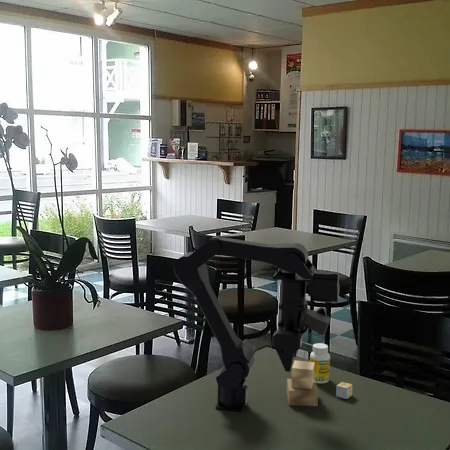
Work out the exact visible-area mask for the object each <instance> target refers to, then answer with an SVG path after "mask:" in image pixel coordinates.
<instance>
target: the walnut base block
mask: <svg viewBox="0 0 450 450" xmlns="http://www.w3.org/2000/svg"><path fill="white" fill-rule="evenodd" d="M291 384H292V378H286V398H287V403H288V406H298V407H299V406H303V407H304V406H305V407H318V406H319V405H318V403H319V401H318V400H319V389H318V386H317V383H316V382H315V379H314V383H313V387H312V390H311V389H303V388H294V387H291Z"/></svg>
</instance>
